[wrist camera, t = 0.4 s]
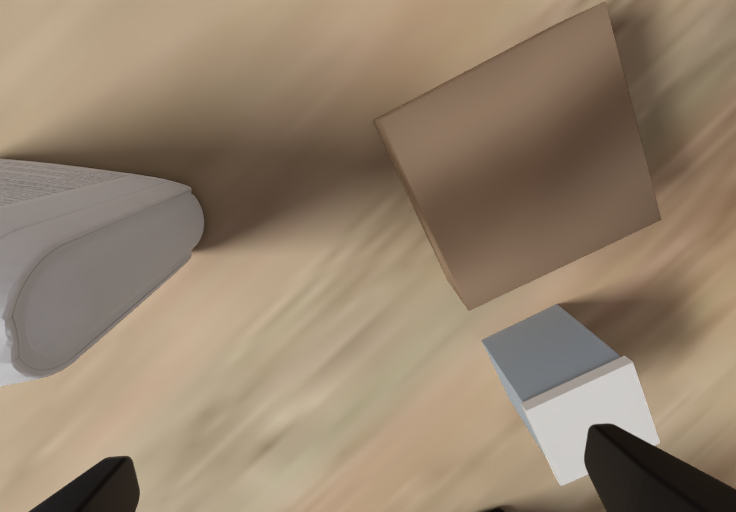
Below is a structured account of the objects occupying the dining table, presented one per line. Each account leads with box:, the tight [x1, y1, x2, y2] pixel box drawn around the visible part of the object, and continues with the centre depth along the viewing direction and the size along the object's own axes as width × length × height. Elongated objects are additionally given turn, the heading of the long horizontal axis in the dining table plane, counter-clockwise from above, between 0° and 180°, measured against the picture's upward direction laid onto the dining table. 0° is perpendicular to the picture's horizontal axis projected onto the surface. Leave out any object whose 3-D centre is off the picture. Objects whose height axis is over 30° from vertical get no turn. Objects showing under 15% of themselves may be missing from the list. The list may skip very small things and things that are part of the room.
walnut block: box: [373, 2, 661, 310], centre depth 18 cm, size 9×9×4 cm
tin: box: [482, 304, 660, 486], centre depth 20 cm, size 5×5×6 cm
